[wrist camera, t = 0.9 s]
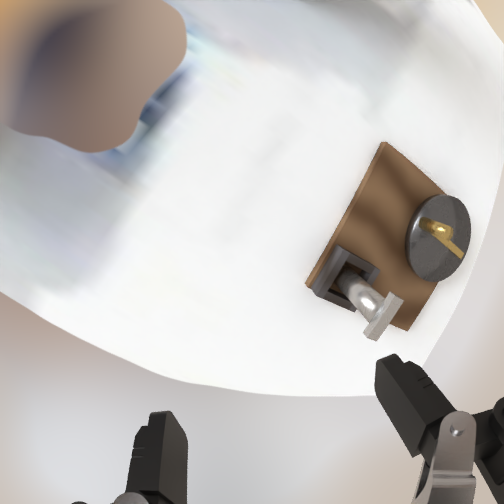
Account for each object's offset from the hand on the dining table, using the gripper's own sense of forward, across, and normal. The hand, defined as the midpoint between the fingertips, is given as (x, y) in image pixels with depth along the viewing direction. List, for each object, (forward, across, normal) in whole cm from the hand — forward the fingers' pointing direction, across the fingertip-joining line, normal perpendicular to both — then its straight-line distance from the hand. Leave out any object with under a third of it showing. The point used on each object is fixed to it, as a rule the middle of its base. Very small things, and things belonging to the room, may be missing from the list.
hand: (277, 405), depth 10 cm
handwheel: (+23, -26, +6) cm, 35 cm away
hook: (+24, -12, +8) cm, 28 cm away
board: (+25, -21, +7) cm, 34 cm away
